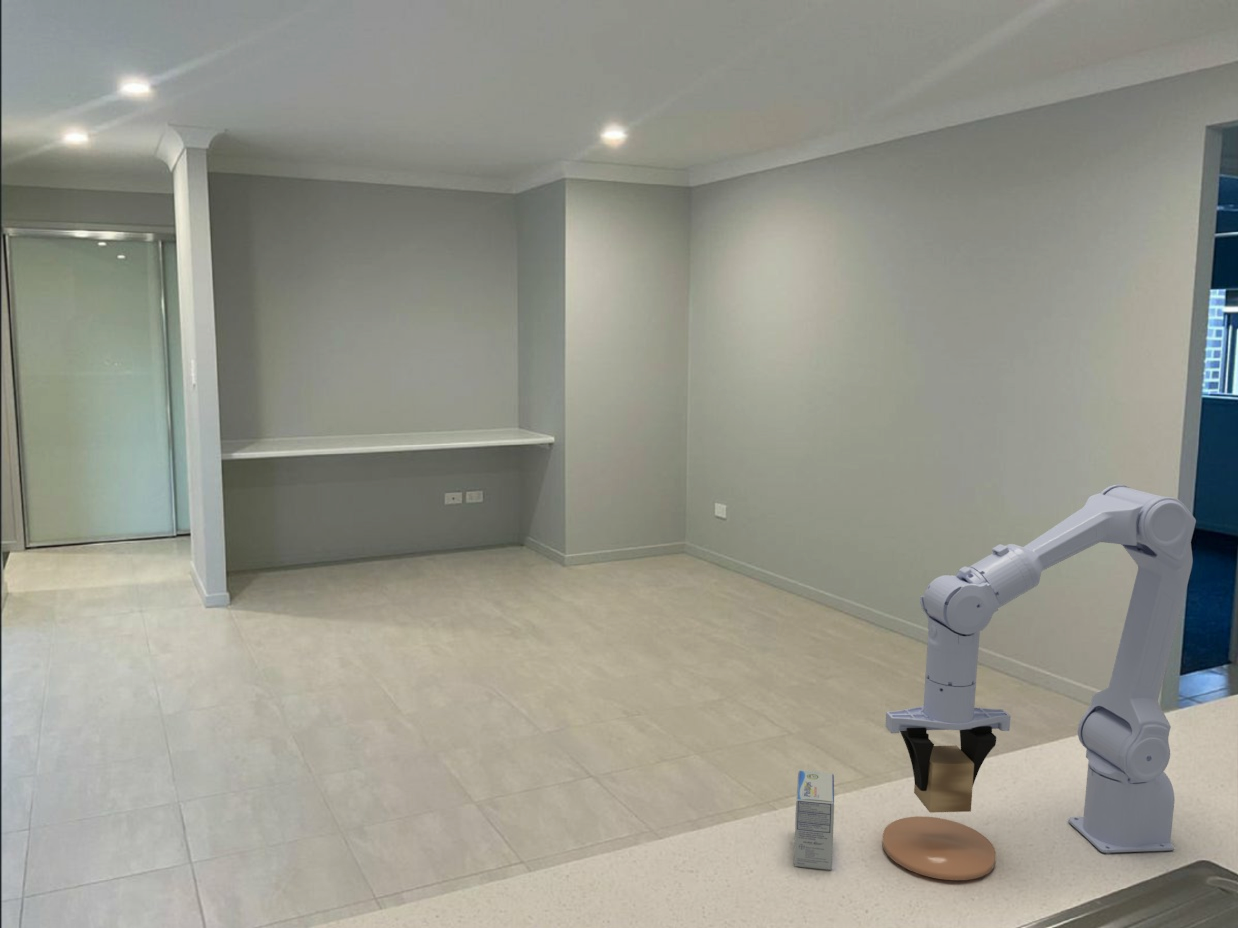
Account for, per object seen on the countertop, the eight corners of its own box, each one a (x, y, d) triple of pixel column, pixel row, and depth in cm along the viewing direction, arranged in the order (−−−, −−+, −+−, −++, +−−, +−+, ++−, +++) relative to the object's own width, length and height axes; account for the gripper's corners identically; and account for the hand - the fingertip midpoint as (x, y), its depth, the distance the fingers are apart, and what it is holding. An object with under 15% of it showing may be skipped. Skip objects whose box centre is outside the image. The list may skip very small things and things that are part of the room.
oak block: (953, 791, 123) (956, 745, 122) (970, 811, 118) (974, 763, 117) (914, 792, 122) (916, 746, 121) (929, 812, 117) (932, 764, 116)
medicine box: (831, 871, 116) (835, 802, 115) (793, 867, 117) (796, 798, 116) (831, 837, 124) (834, 772, 122) (795, 833, 125) (797, 768, 123)
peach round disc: (965, 824, 127) (966, 814, 127) (1015, 881, 114) (1016, 870, 114) (867, 828, 126) (867, 817, 126) (905, 886, 113) (906, 874, 113)
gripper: (994, 665, 122) (986, 769, 124) (879, 667, 121) (873, 772, 123) (1022, 686, 115) (1013, 796, 117) (900, 688, 114) (893, 799, 116)
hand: (943, 786), depth 119 cm, fingers closed on oak block, 5 cm apart
